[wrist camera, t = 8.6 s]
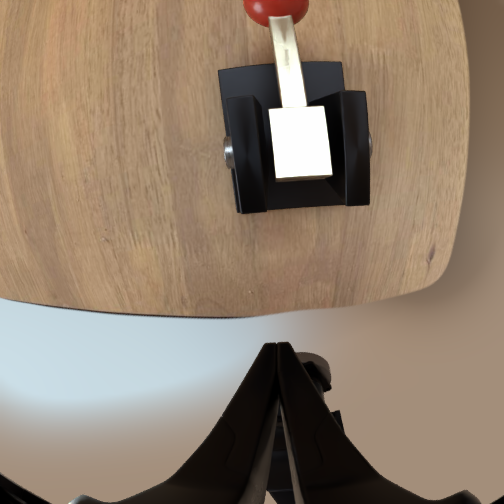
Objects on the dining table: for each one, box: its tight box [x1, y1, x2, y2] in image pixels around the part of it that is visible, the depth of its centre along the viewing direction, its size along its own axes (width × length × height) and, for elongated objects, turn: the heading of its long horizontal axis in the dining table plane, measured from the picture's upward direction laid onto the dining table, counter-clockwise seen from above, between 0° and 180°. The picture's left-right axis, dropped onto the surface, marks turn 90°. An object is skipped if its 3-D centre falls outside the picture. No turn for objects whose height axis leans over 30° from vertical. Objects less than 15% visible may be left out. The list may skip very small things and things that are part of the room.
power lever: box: [243, 0, 333, 182], centre depth 10 cm, size 11×3×3 cm, turn 7°
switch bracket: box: [218, 61, 372, 214], centre depth 14 cm, size 10×8×10 cm
